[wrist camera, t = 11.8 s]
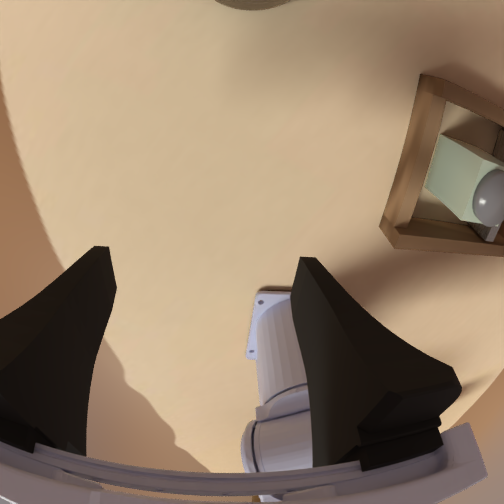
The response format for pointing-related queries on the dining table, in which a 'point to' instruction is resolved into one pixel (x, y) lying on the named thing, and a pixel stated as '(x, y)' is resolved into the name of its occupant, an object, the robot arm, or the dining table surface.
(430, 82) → the brown wooden shallow box
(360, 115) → the dining table surface
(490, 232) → the pusher plate
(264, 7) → the supplement bottle
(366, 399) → the robot arm
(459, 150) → the jar
